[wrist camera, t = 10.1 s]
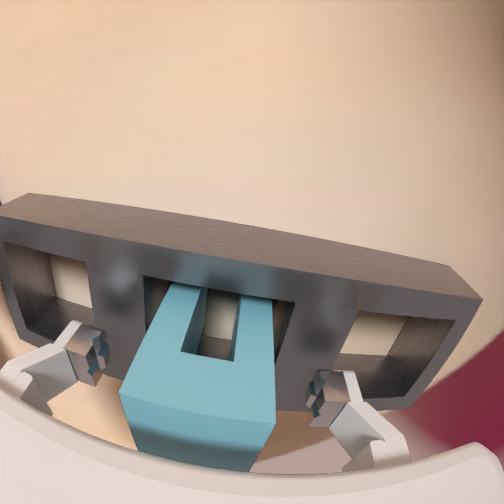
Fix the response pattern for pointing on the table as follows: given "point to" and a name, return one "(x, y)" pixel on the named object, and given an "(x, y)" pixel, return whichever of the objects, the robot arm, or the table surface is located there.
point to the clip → (202, 385)
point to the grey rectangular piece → (233, 280)
